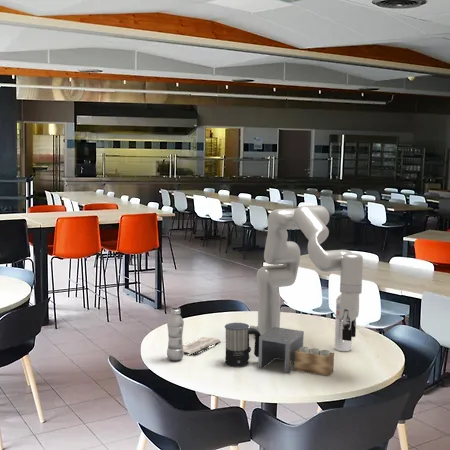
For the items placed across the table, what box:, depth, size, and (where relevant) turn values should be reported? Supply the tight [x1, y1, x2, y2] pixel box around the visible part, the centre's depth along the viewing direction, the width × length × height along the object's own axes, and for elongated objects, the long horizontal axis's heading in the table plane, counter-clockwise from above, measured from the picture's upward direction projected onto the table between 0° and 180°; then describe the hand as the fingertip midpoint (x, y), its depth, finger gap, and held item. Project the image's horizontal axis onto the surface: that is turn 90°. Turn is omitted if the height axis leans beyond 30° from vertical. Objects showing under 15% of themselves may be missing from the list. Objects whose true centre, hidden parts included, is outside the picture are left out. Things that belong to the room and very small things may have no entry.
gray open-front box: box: [257, 327, 305, 375], centre depth 238 cm, size 12×15×12 cm
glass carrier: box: [294, 346, 335, 377], centre depth 233 cm, size 13×6×8 cm, turn 64°
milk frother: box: [224, 322, 261, 368], centre depth 243 cm, size 14×16×15 cm
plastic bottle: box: [166, 307, 185, 361], centre depth 242 cm, size 6×7×20 cm
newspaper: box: [183, 336, 222, 356], centre depth 260 cm, size 23×12×2 cm, turn 147°
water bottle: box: [334, 293, 353, 352], centre depth 259 cm, size 7×7×25 cm
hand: (348, 337), depth 226 cm, fingers open, 4 cm apart
